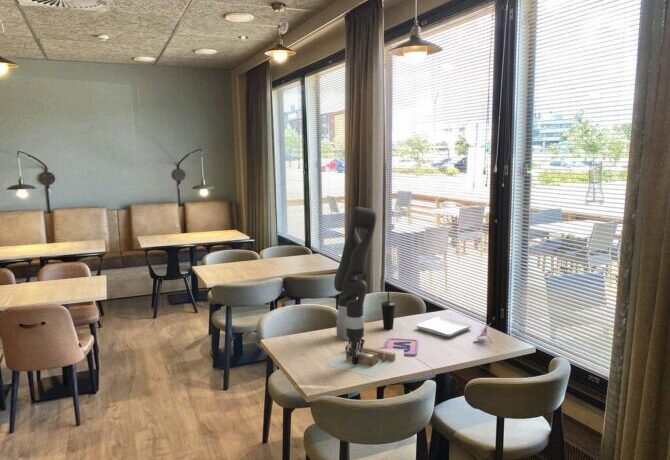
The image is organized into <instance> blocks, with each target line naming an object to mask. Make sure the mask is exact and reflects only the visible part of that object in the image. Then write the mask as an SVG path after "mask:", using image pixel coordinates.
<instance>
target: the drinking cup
mask: <svg viewBox="0 0 670 460" xmlns="http://www.w3.org/2000/svg"><path fill="white" fill-rule="evenodd" d="M396 304H397V303H396V302H395V301H392V300H390V291H387V300H384V301H382V302H380V305H381V312H382V324H383V329H384V330H385V331H386V330H387V331H391V330H393V329H394V320H395V310H396Z"/></svg>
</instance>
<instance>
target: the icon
mask: <svg viewBox="0 0 670 460" xmlns="http://www.w3.org/2000/svg"><path fill="white" fill-rule="evenodd" d="M374 349H376V350H403V356H404V357H417V356H418V349H419V340H418V339H415V338H399V337H397V338H396V337H390V338H387V340H386V344H385V346H381V347H376V348H374Z"/></svg>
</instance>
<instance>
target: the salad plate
mask: <svg viewBox="0 0 670 460" xmlns="http://www.w3.org/2000/svg"><path fill="white" fill-rule="evenodd" d="M415 326H416V327H417V328H418V329H420V330H422V331H425V332H427V333H430V334H435V335H438V336H441V337H444V338H445V337H446V338H450V337H452V336H455V335H457V334H460V333H461V332H465V331H467V330H469V329H470V328H472V326H473V324H469V323H467V322H464V321H463V322H462V321H460V320H458V319H457V320H456V319H451V318H448V317H443V316H440V315H439V316H436V317H433V318H431V319H427V320H424V321H422V322H419V323H417V324H416V325H415Z"/></svg>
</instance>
